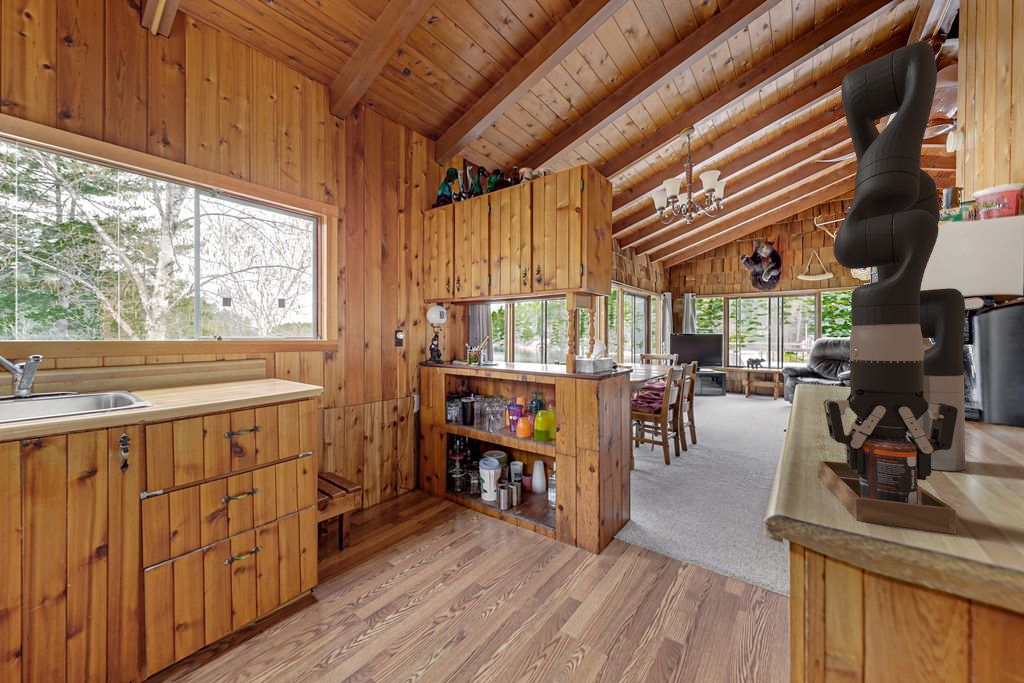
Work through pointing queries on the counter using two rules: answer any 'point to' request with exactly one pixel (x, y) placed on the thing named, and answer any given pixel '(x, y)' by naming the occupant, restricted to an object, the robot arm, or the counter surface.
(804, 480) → the counter surface
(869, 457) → the supplement bottle
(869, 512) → the caddy
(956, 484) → the counter surface
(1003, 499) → the counter surface
